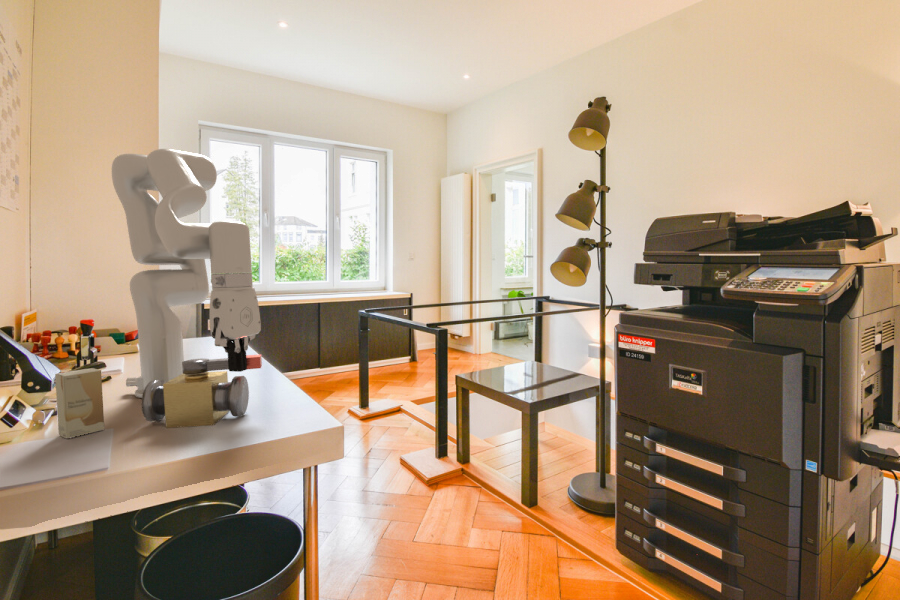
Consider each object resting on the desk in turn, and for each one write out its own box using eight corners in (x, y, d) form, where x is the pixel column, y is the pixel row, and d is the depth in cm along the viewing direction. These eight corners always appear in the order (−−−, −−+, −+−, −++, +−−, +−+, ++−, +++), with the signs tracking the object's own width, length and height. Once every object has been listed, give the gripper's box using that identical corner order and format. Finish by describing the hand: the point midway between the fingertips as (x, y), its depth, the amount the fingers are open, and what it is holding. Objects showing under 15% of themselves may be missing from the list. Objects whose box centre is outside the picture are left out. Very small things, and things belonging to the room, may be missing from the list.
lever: (179, 376, 91) (179, 363, 90) (186, 370, 95) (185, 359, 95) (260, 369, 95) (259, 357, 95) (262, 364, 100) (261, 353, 100)
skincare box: (66, 440, 84) (61, 376, 83) (58, 435, 86) (52, 373, 85) (107, 429, 89) (102, 369, 88) (97, 425, 92) (92, 366, 91)
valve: (142, 429, 89) (138, 381, 88) (165, 414, 98) (161, 371, 97) (236, 423, 91) (233, 377, 90) (250, 409, 100) (247, 367, 99)
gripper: (221, 283, 83) (228, 380, 85) (270, 280, 98) (275, 363, 99) (188, 284, 85) (194, 379, 87) (241, 281, 100) (246, 362, 101)
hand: (237, 370), depth 93 cm, fingers closed
